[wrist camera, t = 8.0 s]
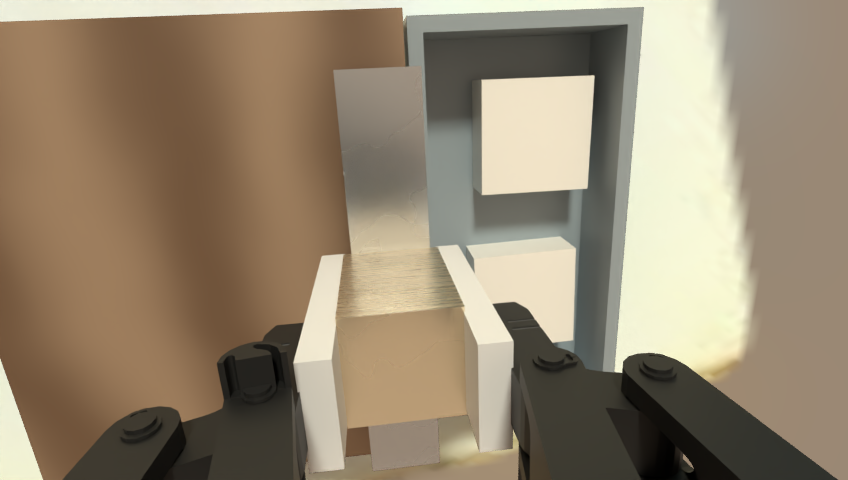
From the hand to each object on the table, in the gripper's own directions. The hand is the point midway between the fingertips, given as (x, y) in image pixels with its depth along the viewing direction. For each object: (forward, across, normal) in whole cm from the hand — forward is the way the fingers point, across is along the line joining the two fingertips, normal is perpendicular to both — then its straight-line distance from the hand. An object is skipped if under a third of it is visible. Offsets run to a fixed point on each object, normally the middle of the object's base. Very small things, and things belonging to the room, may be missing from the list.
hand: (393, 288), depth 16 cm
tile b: (+6, +7, +4) cm, 10 cm away
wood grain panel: (+9, -7, 0) cm, 11 cm away
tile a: (+6, +7, -4) cm, 10 cm away
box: (+9, +6, 0) cm, 11 cm away
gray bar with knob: (+2, 0, 0) cm, 2 cm away
